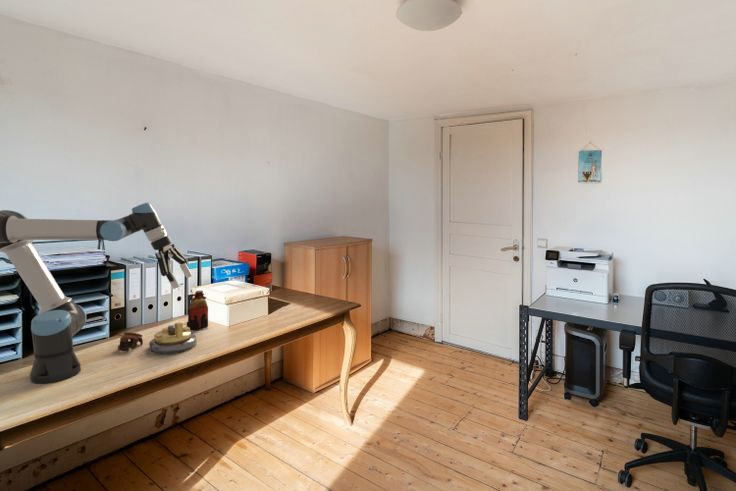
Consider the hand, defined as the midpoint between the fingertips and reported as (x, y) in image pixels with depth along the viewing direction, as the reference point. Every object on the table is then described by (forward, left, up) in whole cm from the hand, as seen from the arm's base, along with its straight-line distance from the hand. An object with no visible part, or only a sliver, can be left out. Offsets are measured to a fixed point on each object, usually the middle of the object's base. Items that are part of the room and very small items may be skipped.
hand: (183, 282), depth 177 cm
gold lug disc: (-3, +7, -27) cm, 28 cm away
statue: (+16, +23, -30) cm, 41 cm away
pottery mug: (-16, +18, -30) cm, 39 cm away
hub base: (-3, +7, -30) cm, 31 cm away
